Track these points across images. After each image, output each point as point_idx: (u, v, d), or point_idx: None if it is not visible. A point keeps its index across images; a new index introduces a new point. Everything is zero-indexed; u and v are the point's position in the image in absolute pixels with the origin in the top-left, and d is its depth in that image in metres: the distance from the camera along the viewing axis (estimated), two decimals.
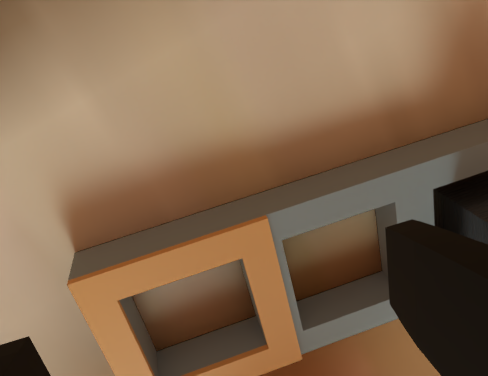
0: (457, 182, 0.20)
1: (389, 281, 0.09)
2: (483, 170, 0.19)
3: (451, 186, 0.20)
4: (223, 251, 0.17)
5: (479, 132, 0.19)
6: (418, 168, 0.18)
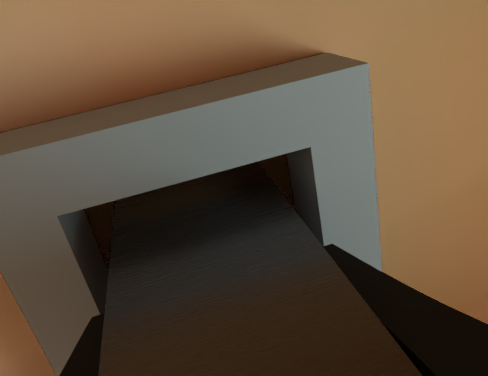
0: None
1: None
2: None
3: None
4: None
5: None
6: None
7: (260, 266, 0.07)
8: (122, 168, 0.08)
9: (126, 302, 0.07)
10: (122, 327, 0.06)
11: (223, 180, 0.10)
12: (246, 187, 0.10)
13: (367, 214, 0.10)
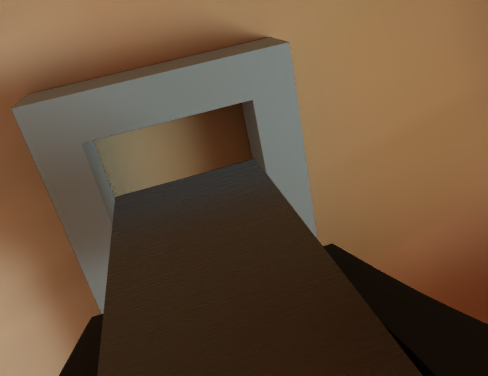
0: None
1: None
2: (111, 220, 0.14)
3: None
4: None
5: None
6: None
7: (258, 264, 0.07)
8: (124, 111, 0.12)
9: (125, 300, 0.07)
10: (121, 325, 0.06)
11: (222, 179, 0.10)
12: (245, 186, 0.10)
13: (296, 150, 0.14)
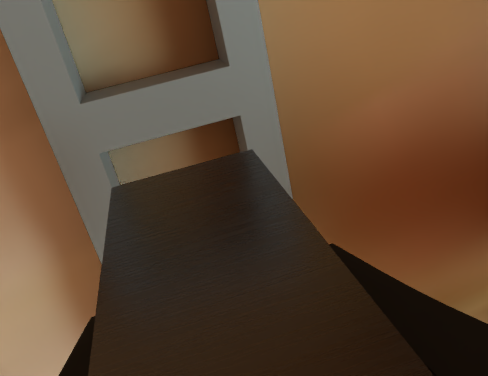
0: None
1: None
2: (50, 24, 0.13)
3: None
4: None
5: None
6: (50, 130, 0.14)
7: (254, 250, 0.07)
8: None
9: (120, 286, 0.07)
10: (115, 309, 0.06)
11: (219, 169, 0.10)
12: (241, 175, 0.10)
13: None
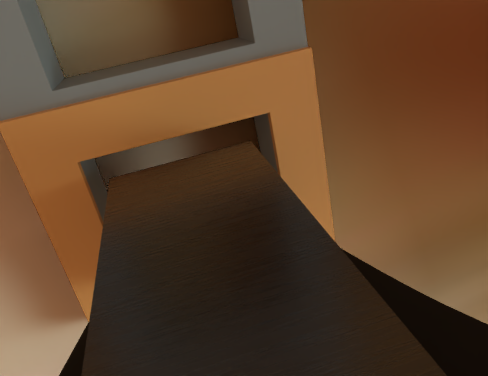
0: None
1: None
2: None
3: None
4: (63, 191, 0.11)
5: None
6: None
7: (251, 236, 0.07)
8: None
9: (117, 272, 0.07)
10: (112, 294, 0.06)
11: (217, 160, 0.10)
12: (240, 166, 0.10)
13: None
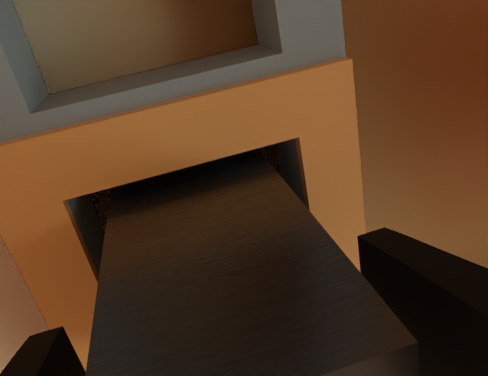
0: None
1: None
2: None
3: None
4: (45, 235, 0.09)
5: None
6: None
7: (242, 216, 0.08)
8: None
9: (121, 246, 0.07)
10: (117, 265, 0.07)
11: None
12: (235, 155, 0.10)
13: None
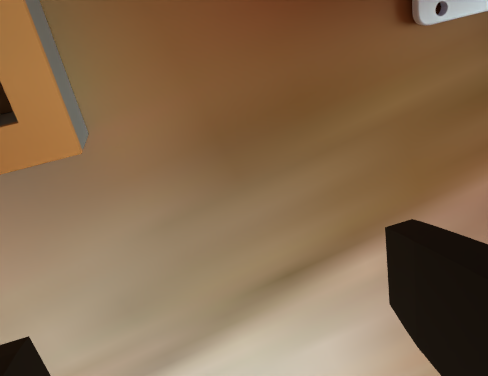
0: None
1: (389, 281, 0.09)
2: None
3: None
4: None
5: None
6: None
7: None
8: None
9: None
10: None
11: None
12: None
13: None
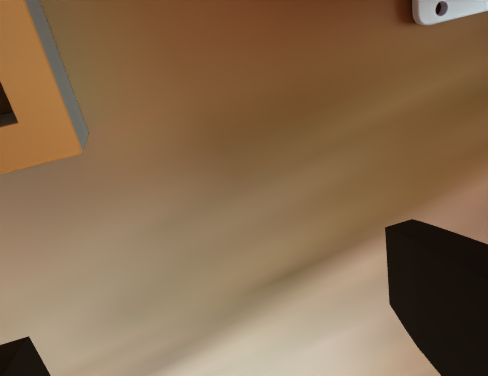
0: None
1: (389, 281, 0.09)
2: None
3: None
4: None
5: None
6: None
7: None
8: None
9: None
10: None
11: None
12: None
13: None
